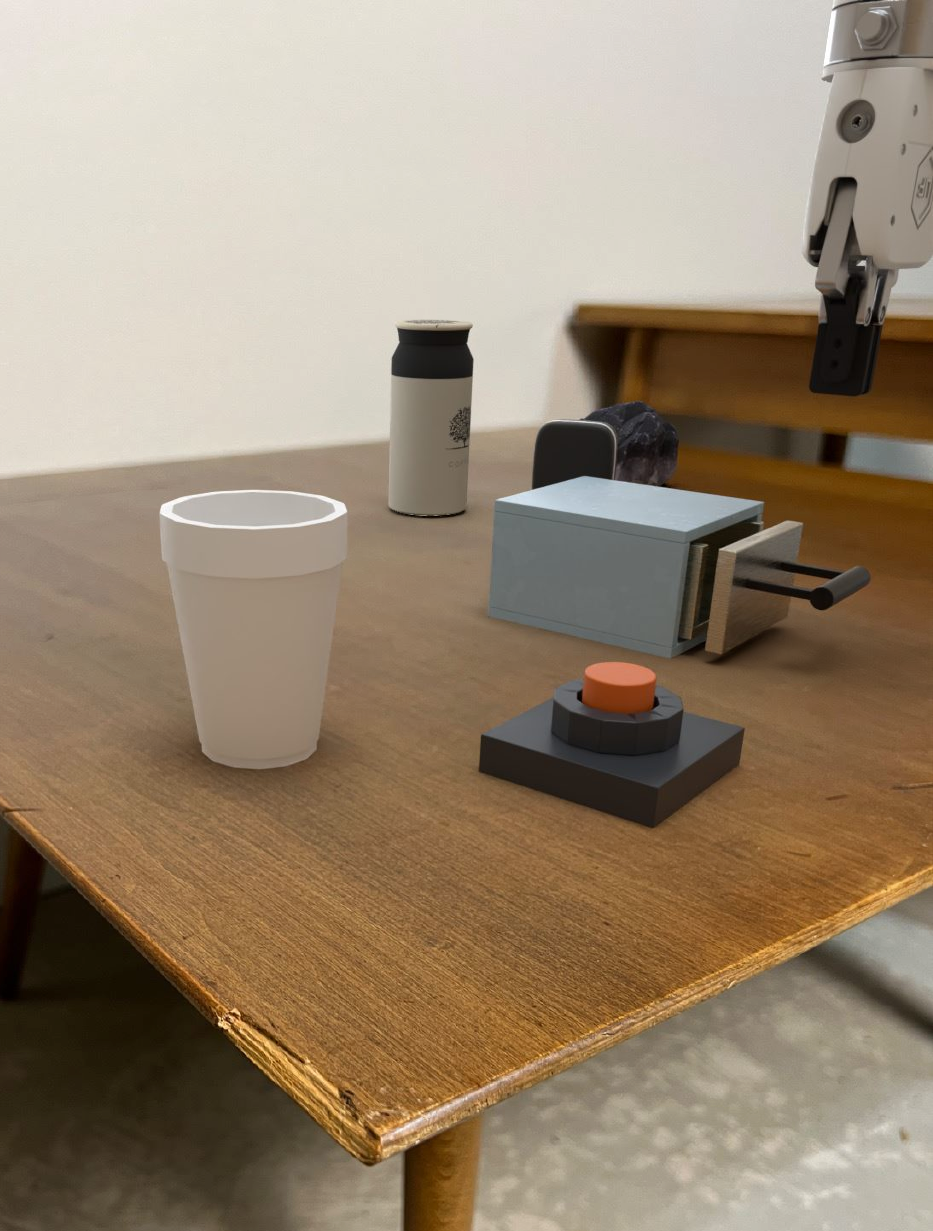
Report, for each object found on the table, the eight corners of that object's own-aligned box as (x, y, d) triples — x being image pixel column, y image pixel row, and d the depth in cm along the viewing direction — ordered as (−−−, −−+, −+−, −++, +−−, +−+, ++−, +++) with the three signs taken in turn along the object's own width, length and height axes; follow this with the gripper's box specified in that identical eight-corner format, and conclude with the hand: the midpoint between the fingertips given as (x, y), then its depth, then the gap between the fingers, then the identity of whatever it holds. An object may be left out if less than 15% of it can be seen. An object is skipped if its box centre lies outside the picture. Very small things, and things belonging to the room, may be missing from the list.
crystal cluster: (547, 476, 143) (547, 391, 139) (661, 468, 143) (665, 382, 138) (560, 508, 132) (560, 416, 127) (685, 500, 131) (690, 407, 126)
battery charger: (610, 551, 107) (624, 419, 102) (603, 560, 104) (617, 425, 99) (533, 543, 109) (543, 414, 105) (524, 553, 106) (534, 420, 101)
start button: (665, 703, 62) (668, 671, 61) (632, 723, 59) (635, 690, 59) (603, 687, 64) (606, 656, 63) (568, 706, 61) (571, 673, 61)
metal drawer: (869, 633, 83) (888, 535, 80) (808, 674, 75) (827, 567, 72) (619, 583, 94) (628, 495, 91) (543, 614, 86) (550, 519, 83)
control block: (739, 765, 64) (750, 695, 62) (653, 829, 57) (662, 752, 55) (575, 719, 70) (581, 654, 68) (478, 772, 63) (482, 701, 61)
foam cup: (136, 754, 64) (119, 511, 59) (244, 703, 71) (238, 483, 66) (277, 797, 59) (273, 538, 54) (378, 739, 66) (383, 504, 61)
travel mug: (372, 508, 123) (375, 320, 115) (427, 498, 127) (433, 318, 120) (426, 521, 117) (433, 325, 110) (482, 510, 122) (492, 322, 115)
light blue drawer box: (747, 618, 89) (764, 501, 85) (670, 659, 80) (686, 531, 76) (574, 582, 97) (583, 475, 94) (487, 616, 88) (494, 499, 85)
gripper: (927, 23, 59) (859, 410, 66) (1005, 58, 69) (938, 388, 77) (778, 36, 63) (730, 398, 71) (873, 67, 74) (822, 378, 81)
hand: (839, 392), depth 74 cm, fingers closed
